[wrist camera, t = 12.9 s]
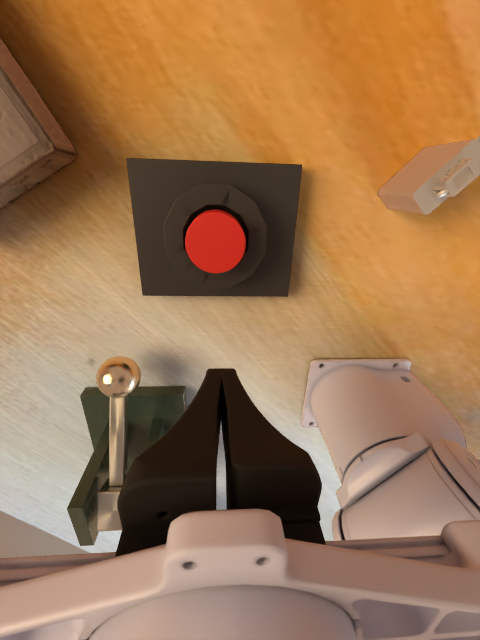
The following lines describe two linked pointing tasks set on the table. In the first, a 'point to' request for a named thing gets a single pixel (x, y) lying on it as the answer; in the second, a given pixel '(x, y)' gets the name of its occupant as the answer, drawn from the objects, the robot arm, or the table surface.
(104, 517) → the lever
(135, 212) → the button box
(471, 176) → the lighter
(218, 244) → the button
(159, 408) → the bracket
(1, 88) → the box
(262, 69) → the table surface
